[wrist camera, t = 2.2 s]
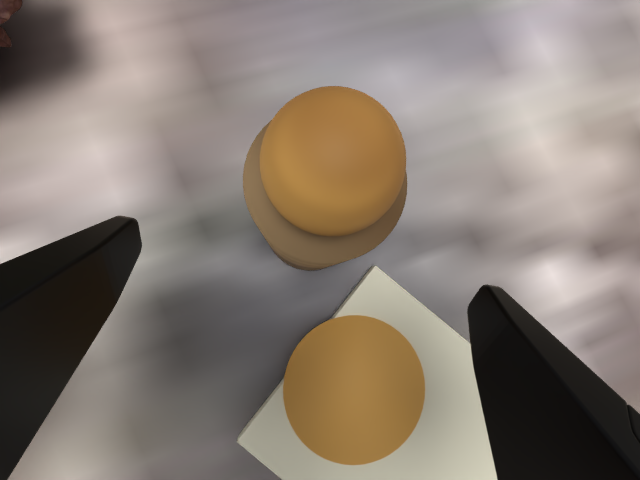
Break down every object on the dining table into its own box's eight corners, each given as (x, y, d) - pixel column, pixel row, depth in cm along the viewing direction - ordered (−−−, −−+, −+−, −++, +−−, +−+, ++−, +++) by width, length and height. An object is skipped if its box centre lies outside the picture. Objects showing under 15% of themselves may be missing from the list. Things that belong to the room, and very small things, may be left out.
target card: (570, 711, 17) (586, 734, 16) (229, 426, 17) (226, 434, 17) (678, 518, 19) (697, 530, 18) (363, 259, 19) (367, 258, 18)
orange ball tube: (316, 288, 19) (361, 307, 7) (247, 232, 19) (166, 146, 7) (370, 221, 19) (503, 125, 7) (304, 166, 19) (325, -21, 7)
